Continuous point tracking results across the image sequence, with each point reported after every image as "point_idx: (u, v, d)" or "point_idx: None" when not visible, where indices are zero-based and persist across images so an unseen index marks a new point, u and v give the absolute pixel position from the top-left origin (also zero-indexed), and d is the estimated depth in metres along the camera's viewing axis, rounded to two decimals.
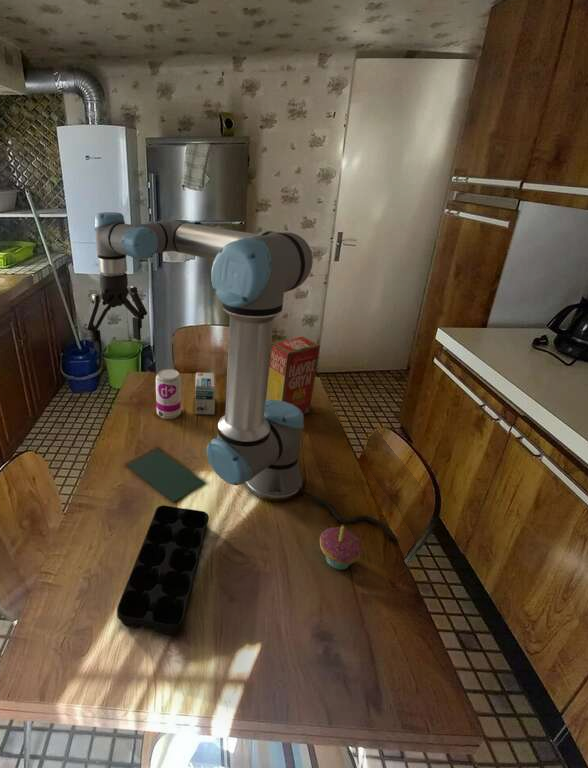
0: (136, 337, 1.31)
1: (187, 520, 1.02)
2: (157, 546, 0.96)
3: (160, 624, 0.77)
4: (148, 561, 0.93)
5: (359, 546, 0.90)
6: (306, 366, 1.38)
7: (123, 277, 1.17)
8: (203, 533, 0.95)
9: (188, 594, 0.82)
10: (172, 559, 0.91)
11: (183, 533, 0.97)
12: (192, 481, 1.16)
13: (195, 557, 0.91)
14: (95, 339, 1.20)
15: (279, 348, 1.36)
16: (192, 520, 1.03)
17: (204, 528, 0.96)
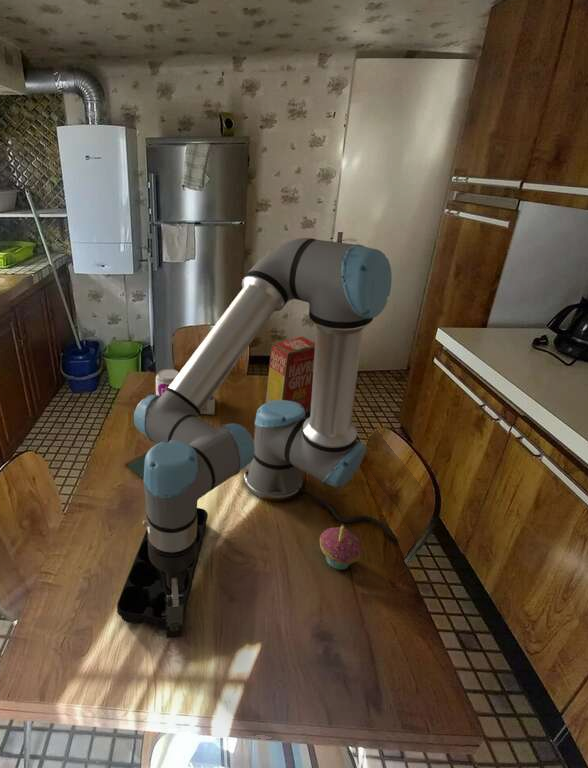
0: None
1: None
2: None
3: (160, 619, 0.77)
4: (148, 558, 0.93)
5: (359, 546, 0.90)
6: (306, 366, 1.38)
7: None
8: (202, 530, 0.96)
9: (187, 590, 0.82)
10: None
11: None
12: None
13: None
14: None
15: (279, 348, 1.36)
16: None
17: (203, 525, 0.97)
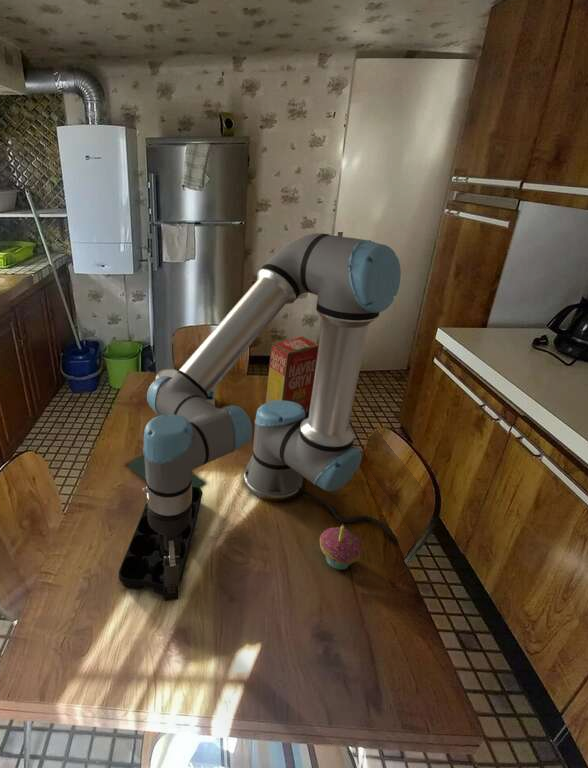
0: None
1: None
2: None
3: (158, 584, 0.84)
4: (147, 532, 1.00)
5: (359, 546, 0.90)
6: (306, 366, 1.38)
7: None
8: (197, 506, 1.02)
9: (184, 559, 0.89)
10: None
11: None
12: (192, 481, 1.16)
13: (190, 527, 0.98)
14: (175, 588, 0.80)
15: (279, 348, 1.36)
16: None
17: (198, 502, 1.04)
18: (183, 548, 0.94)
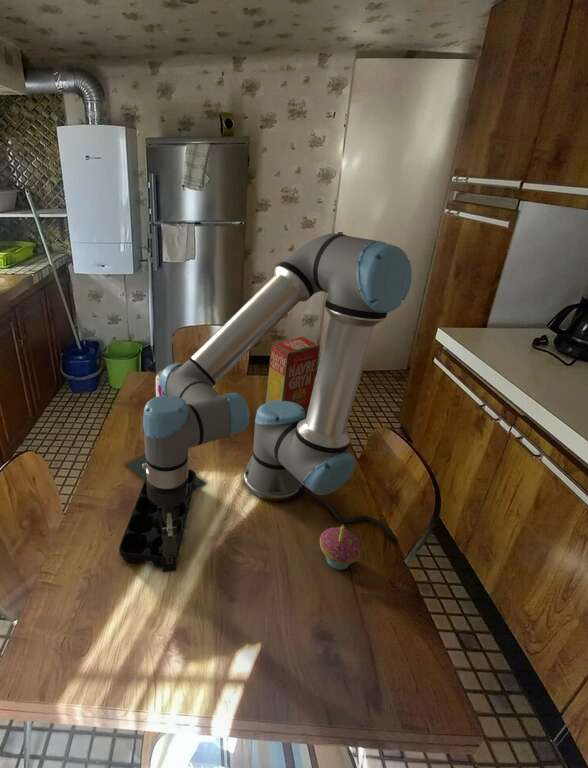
0: None
1: None
2: None
3: (157, 557, 0.89)
4: (144, 512, 1.05)
5: (359, 546, 0.90)
6: (306, 366, 1.38)
7: None
8: (191, 487, 1.08)
9: (180, 534, 0.95)
10: None
11: None
12: None
13: (185, 506, 1.04)
14: (173, 559, 0.86)
15: (279, 348, 1.36)
16: None
17: (192, 483, 1.09)
18: (179, 525, 0.99)
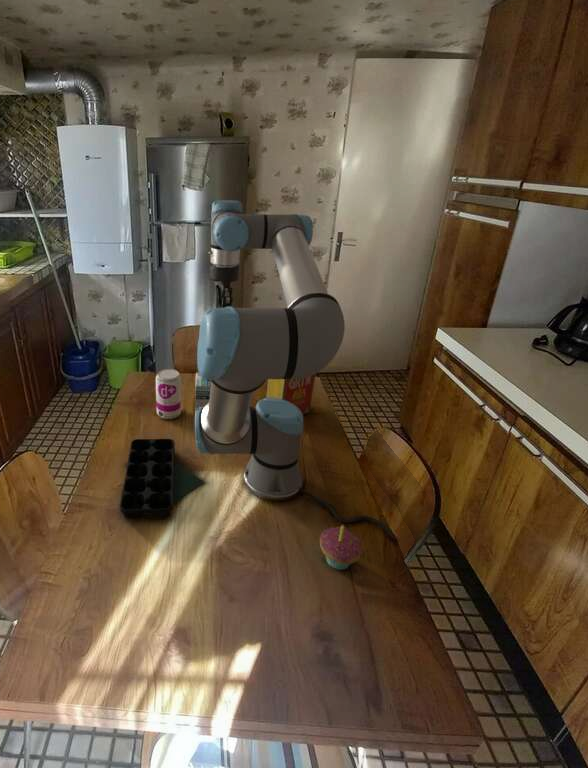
0: None
1: (157, 448, 1.27)
2: (137, 468, 1.20)
3: (156, 509, 1.01)
4: (133, 478, 1.16)
5: (359, 546, 0.90)
6: None
7: None
8: (173, 452, 1.21)
9: (172, 489, 1.07)
10: (153, 473, 1.16)
11: (156, 455, 1.22)
12: (192, 481, 1.16)
13: (170, 468, 1.16)
14: None
15: None
16: (161, 447, 1.28)
17: (173, 449, 1.22)
18: (168, 484, 1.12)
